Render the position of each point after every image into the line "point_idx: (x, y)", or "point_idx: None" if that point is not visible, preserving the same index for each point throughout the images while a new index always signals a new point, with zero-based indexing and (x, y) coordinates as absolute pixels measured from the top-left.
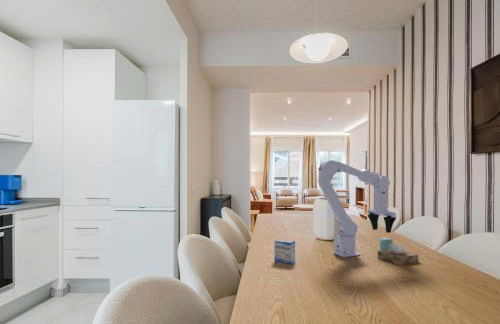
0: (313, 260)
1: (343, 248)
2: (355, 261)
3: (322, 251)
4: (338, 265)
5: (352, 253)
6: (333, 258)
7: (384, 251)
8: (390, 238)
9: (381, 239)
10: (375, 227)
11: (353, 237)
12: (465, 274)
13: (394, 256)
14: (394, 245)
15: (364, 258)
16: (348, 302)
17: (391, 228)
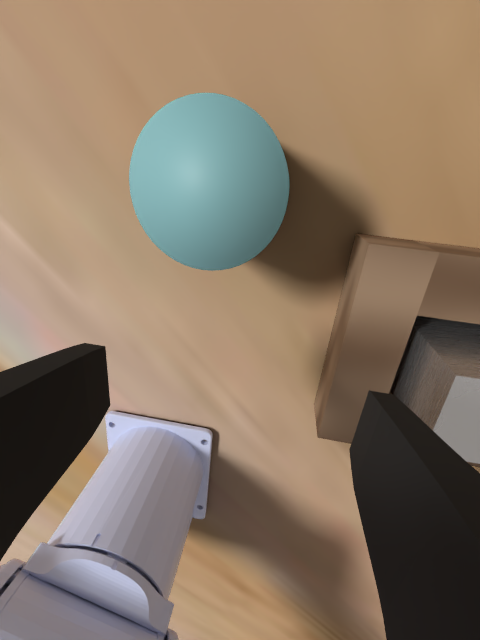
0: (177, 601)
1: (180, 553)
2: (280, 523)
3: (68, 498)
4: (279, 596)
5: (200, 481)
6: (191, 545)
7: (355, 409)
8: (215, 97)
9: (197, 268)
10: (86, 402)
11: (167, 585)
12: None
13: (476, 465)
14: (477, 450)
15: (269, 458)
16: None
17: (441, 444)
